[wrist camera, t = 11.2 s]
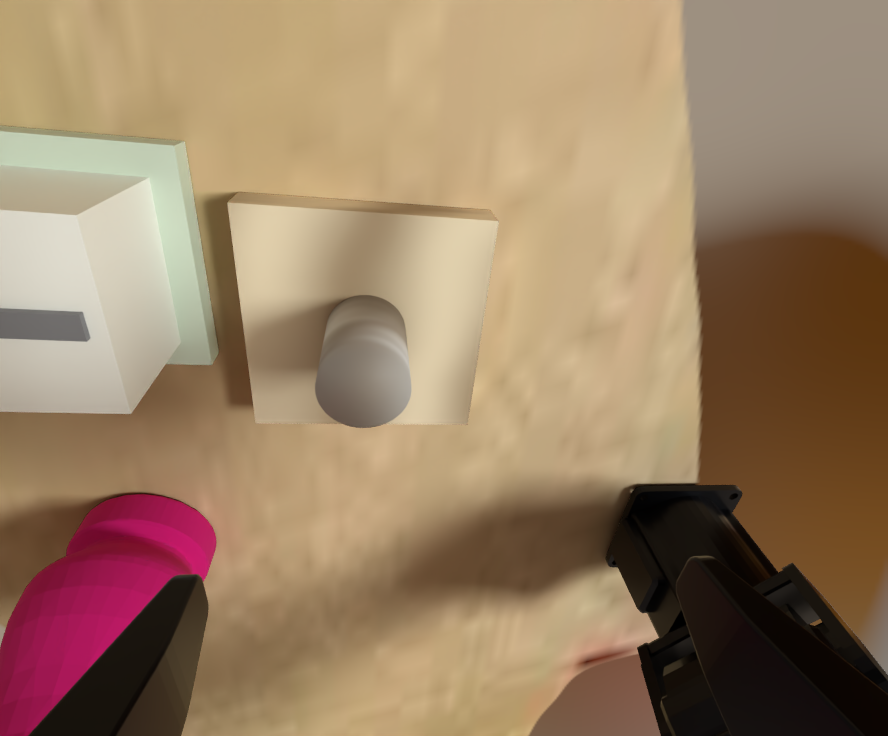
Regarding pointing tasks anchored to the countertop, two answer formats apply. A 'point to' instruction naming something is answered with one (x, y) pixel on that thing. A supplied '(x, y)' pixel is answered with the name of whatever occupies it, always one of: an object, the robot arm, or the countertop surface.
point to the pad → (171, 205)
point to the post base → (357, 261)
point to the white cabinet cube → (80, 292)
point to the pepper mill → (93, 598)
